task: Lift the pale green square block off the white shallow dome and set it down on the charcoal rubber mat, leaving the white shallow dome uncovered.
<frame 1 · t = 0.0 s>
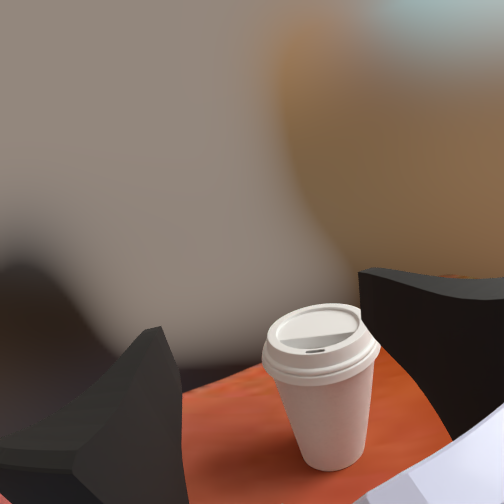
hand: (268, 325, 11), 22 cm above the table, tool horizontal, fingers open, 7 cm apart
coffee cup: (333, 448, 27), on the table
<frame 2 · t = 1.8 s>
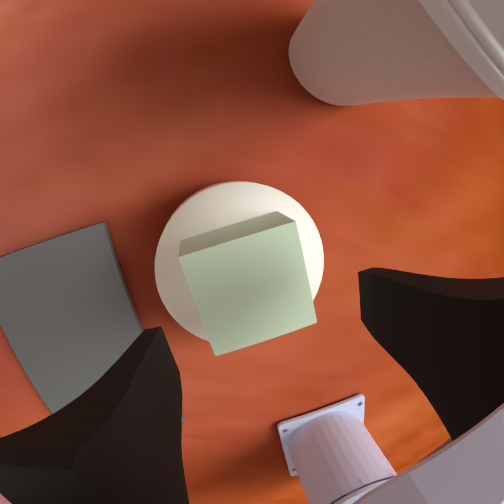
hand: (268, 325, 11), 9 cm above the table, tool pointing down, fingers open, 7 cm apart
white shallow dome: (234, 255, 19), on the table
pale green square block: (242, 270, 16), point 3 cm above the table, touching white shallow dome
coffee cup: (334, 61, 17), on the table
mat: (77, 351, 19), on the table
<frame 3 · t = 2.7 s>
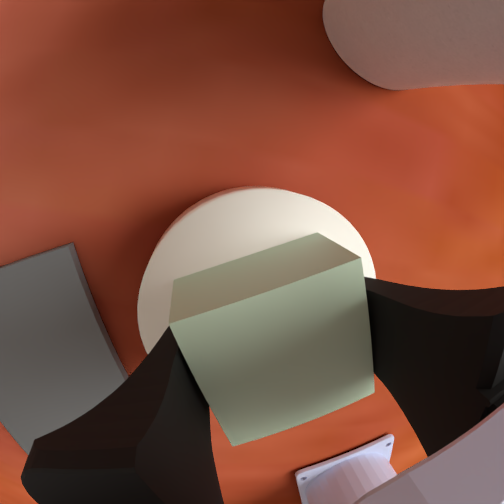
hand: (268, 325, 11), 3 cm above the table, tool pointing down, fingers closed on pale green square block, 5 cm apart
white shallow dome: (250, 288, 14), on the table
pale green square block: (266, 319, 11), point 3 cm above the table, touching white shallow dome, gripper
coffee cup: (379, 33, 12), on the table
mat: (52, 400, 14), on the table
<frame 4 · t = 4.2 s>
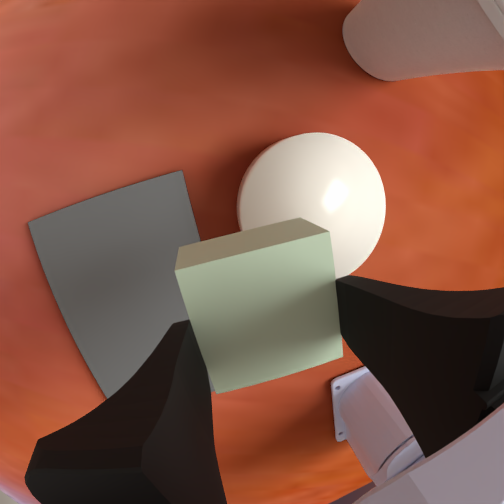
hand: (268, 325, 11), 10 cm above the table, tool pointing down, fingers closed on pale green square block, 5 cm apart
white shallow dome: (303, 204, 20), on the table
pale green square block: (253, 288, 13), point 7 cm above the table, touching gripper
coffee cup: (378, 43, 18), on the table
mat: (137, 309, 20), on the table
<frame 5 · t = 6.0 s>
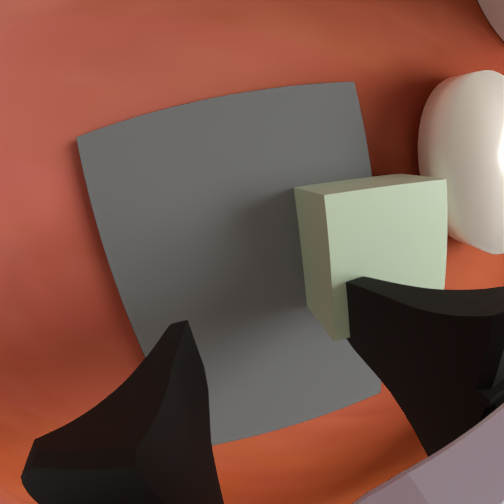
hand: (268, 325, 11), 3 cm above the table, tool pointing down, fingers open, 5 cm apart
white shallow dome: (466, 158, 13), on the table
pale green square block: (356, 238, 13), point 1 cm above the table, touching gripper, mat
coffee cup: (498, 11, 11), on the table
mat: (260, 293, 13), on the table
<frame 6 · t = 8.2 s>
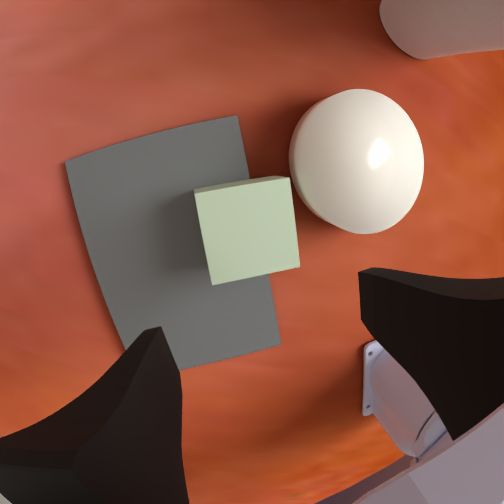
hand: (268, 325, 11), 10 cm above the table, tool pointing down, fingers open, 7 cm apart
white shallow dome: (347, 160, 20), on the table
pale green square block: (241, 221, 19), point 1 cm above the table, touching mat
coffee cup: (409, 26, 18), on the table
mat: (177, 259, 20), on the table
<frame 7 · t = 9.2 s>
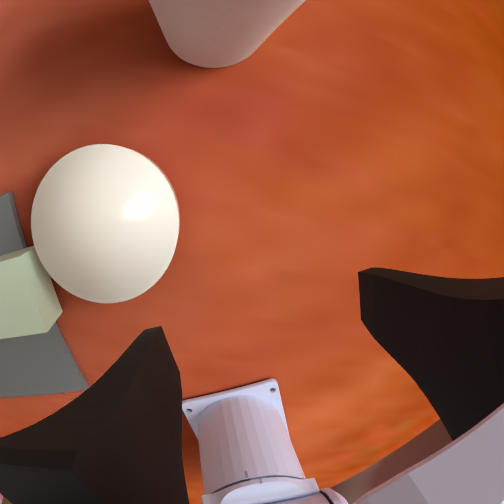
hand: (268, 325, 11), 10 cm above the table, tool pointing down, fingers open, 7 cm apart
white shallow dome: (111, 218, 18), on the table
pale green square block: (24, 285, 18), point 1 cm above the table, touching mat
coffee cup: (213, 27, 16), on the table
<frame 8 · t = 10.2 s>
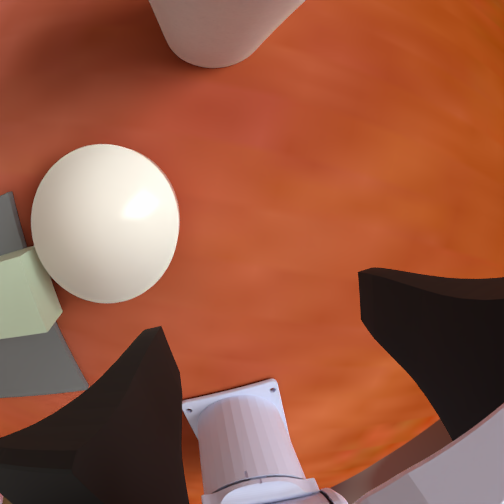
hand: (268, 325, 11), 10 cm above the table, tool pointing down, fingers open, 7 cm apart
white shallow dome: (111, 218, 18), on the table
pale green square block: (24, 285, 18), point 1 cm above the table, touching mat
coffee cup: (213, 27, 16), on the table
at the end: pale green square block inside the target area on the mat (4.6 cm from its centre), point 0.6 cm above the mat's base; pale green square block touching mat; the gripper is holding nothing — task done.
